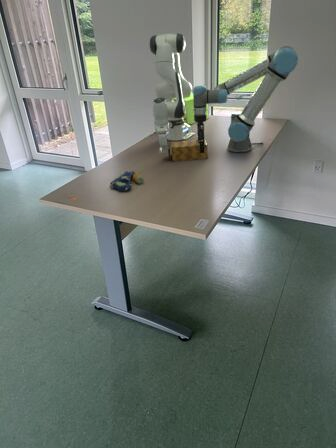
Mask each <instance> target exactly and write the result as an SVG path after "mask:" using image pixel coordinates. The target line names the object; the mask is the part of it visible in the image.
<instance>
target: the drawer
mask: <svg viewBox="0 0 336 448" xmlns="http://www.w3.org/2000/svg"><path fill="white" fill-rule="evenodd" d="M165 150H167V151H163V150H162V147H161V146H160V147H159V154H160V155H162V154H167V155H168V160H172V155H171V143H170V144H169V143H168V144H167V147H165Z"/></svg>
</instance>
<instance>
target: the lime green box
mask: <svg viewBox="0 0 336 448" xmlns="http://www.w3.org/2000/svg"><path fill="white" fill-rule="evenodd" d="M183 99H184V104H185V108H186V112H185V115H184V116H183V118H184V117H185V118H187V120H184V121H185V123H186V124H189V126H191V125H192V124H197V122H195V121H194V115H195V114H194V111H193V109H194V101H193V92H192V93H191V95H190V96H188V97H185V98H183ZM173 101H176V98H175V99H173ZM206 106H207V113H206V114H207V120H208V119H209V104H206Z"/></svg>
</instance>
